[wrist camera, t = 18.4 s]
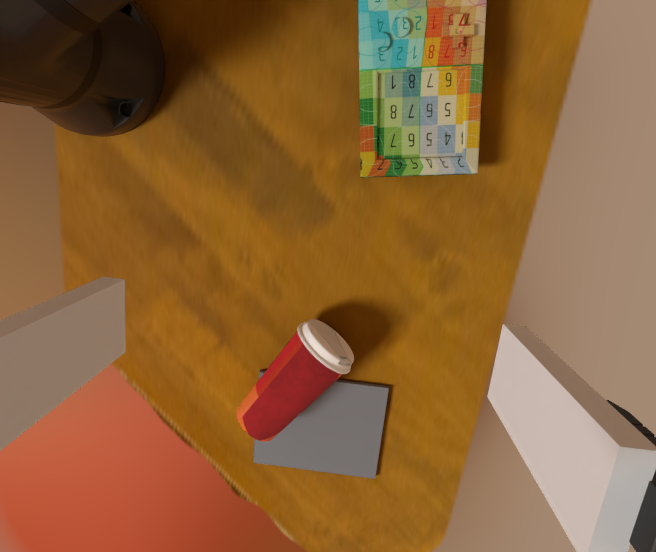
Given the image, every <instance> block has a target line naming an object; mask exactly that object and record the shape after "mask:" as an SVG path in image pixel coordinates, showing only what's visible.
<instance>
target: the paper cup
mask: <svg viewBox="0 0 656 552" xmlns="http://www.w3.org/2000/svg"><path fill="white" fill-rule="evenodd" d="M353 362H354V355H353V352H352V350H351V348H350V347H349V345H348V344H347V343H346V341H345V340H344V339H343V338H342V337H341V336H340V335H339V334H338V333H337V332H336V331H335V330H333V329H332V328H331V327H329V326H328V325H327V324H325V323H323V322H321V321H319V320H316V319H311V320H308V321H307V322H302V323H301V324H299V325H298V328H297V332H296V333H295V335H294V336H293V337H292V339H291V340H290V341H289V342H288V344H287V345H286V346H285V347H284V349H283V350H282V351H281V352H280V354H279V355H278V356H277V358H276V359H275V360H274V361H273V363H272V364H271V365H270V366H269V368H268V369H267V370H266V371H265V373H264V374H263V375H262V377H261V378H260V379H259V380H258V382H257V383H256V384H255V385H254V387H253V388H252V389H251V391H250V392H249V393H248V394H247V396H246V397H245V398H244V400H243V401H242V402H241V404H240V405H239V407H238V409H237V418H238V421H239V423H240V425H241V426H242V428H243V429H244V430H245V431H246V433H248V434H249V435H250V436H251V437H253V438H254V439H256V440H259V441H262V442H267V441H270V440H272V439H273V438H274V437H275V436H277V435H278V434H279V433H280V432H281V431H282V430H283V429H284V428H285V427H287V426H288V425H289V424H290V423H291V422H292V421H293V420H294V419H295V418H296V417H297V416H299V415H300V414H301V413H302V412H303V411H304V410H305V409H306V408H307V407H308V406H309V405H310V404H311V403H313V402H314V401H315V400H316V399H317V398H318V397H319V396H320V395H321V394H322V393H323V392H324V391H325V390H326V389H328V388H329V387H330V386H331V385H332V384H333V383H334V382H335V381H336V380H337V379H338V378H339V377H340V376H342V375H343V374H347V373H349V372H350V369H351V365H352V363H353Z"/></svg>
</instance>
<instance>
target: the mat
mask: <svg viewBox="0 0 656 552" xmlns="http://www.w3.org/2000/svg"><path fill="white" fill-rule="evenodd" d="M264 373H265V370H260V372H259V379H260V378H261V377H262V375H263V374H264ZM388 391H389V386H385V385H377V384H369V383H361V382H353V381H345V380H336V381H335V382H334V383H333V384H332V385H331V386H330V387H329V388H328V389H326V390H325V391H324V392H323V393H322V394H321V395H320V396H319V397H318V398H317V399H316V400H315V401H314V402H313V403H311V404H310V405H309V406H308V407H307V408H306V409H305V410H304V411H303V412H302V413H301V414H300V415H299V416H297V417H296V418H295V419H294V420H293V421H292V422H291V423H290V424H289V425H288V426H287V427H285V428H284V429H283V430H282V431H281V432H280V433H279V434H278V435H277V436H275V437H274V438H273V439H272V440H270V441H267V442H262V441H259V440H256V439H255V445H254V459H253V463H261V464H268V465H276V466H283V467H291V468H298V469H306V470H313V471H321V472H328V473H336V474H343V475H351V476H358V477H366V478H374V479H375V477H376V470H377V464H378V457H379V451H380V444H381V437H382V431H383V424H384V418H385V411H386V404H387V398H388Z"/></svg>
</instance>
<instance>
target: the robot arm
mask: <svg viewBox="0 0 656 552" xmlns="http://www.w3.org/2000/svg"><path fill="white" fill-rule="evenodd" d="M163 81H164V56H163V50H162V46H161V43H160V40H159V37H158V34H157V32H156V30H155V28H154V26H153V24H152V22H151V21H150V19H149V17H148V16H147V15H146V13H145V12H144V11H143V10H142V8H141V7H140V6H139V5H138V4H137V3H136V2H135V1H134V0H0V102H5V103H11V104H16V105H22V106H29V107H32V108H33V109H35V110H36V111H38V112H39V113H41V114H42V115H44V116H45V117H46V118H48V119H50V120H51V121H52V122H54V123H55V124H57V125H59V126H61V127H63V128H65V129H67V130H70V131H73V132H76V133H80V134H85V135H92V136H102V137H104V136H115V135H119V134H122V133H125V132H127V131H130V130H132V129H133V128H135V127H136V126H138V125H139V124H140V123H142V122H143V121H144V120H145V119H146V118H147V117H148V115H149V114H150V113H151V112H152V110H153V108H154V107H155V105H156V103H157V101H158V99H159V96H160V93H161V90H162V86H163ZM125 352H126V346H125V282H124V279H117V278H109V277H102V278H99V279H97V280H94V281H92V282H90V283H87V284H85V285H83V286H80V287H78V288H76V289H73V290H71V291H68V292H66V293H64V294H61V295H59V296H57V297H54V298H52V299H50V300H47V301H45V302H42V303H40V304H38V305H35V306H33V307H31V308H28V309H26V310H24V311H21V312H19V313H17V314H14V315H12V316H9V317H7V318H5V319H2V320H0V451H1V450H2V449H3V448H5V447H6V446H7V445H8V444H10V443H11V442H12V441H13V440H15V439H16V438H17V437H18V436H20V435H21V434H22V433H23V432H25V431H26V430H27V429H29V428H30V427H31V426H32V425H34V424H35V423H36V422H37V421H39V420H40V419H41V418H42V417H44V416H45V415H46V414H47V413H49V412H50V411H51V410H53V409H54V408H55V407H56V406H58V405H59V404H60V403H61V402H63V401H64V400H65V399H66V398H68V397H69V396H70V395H72V394H73V393H74V392H75V391H77V390H78V389H79V388H81V387H82V386H83V385H84V384H86V383H87V382H88V381H89V380H91V379H92V378H93V377H94V376H96V375H97V374H98V373H100V372H101V371H102V370H103V369H104V368H106V367H107V366H108V365H110V364H111V363H112V362H114V361H115V360H116V359H117V358H119V357H120V356H121V355H122V354H124V353H125ZM488 399H489V400H490V402H491V404H492V406H493V407H494V409H495V411H496V412H497V414H498V416H499V418H500V419H501V421H502V423H503V425H504V426H505V428H506V430H507V431H508V433H509V435H510V437H511V438H512V440H513V442H514V444H515V446H516V447H517V449H518V451H519V452H520V454H521V456H522V458H523V459H524V461H525V463H526V465H527V466H528V468H529V470H530V472H531V473H532V475H533V477H534V478H535V480H536V482H537V484H538V485H539V487H540V489H541V491H542V492H543V494H544V496H545V497H546V499H547V501H548V502H549V504H550V506H551V508H552V510H553V511H554V513H555V515H556V516H557V518H558V520H559V522H560V524H561V525H562V527H563V528H564V531H565V532H566V534H567V536H568V537H569V539H570V541H571V542H572V544H573V546H574V548H575V550H576V551H577V552H628V550H629V547H630V544H631V545H632V546H633V548H634V549H635V550H636V552H656V437H654V434H653V433H651V431H649V430H648V429H647V428H646V427H643V425H642V423H640V422H639V421H638V420H637V419H636V418H635V417H634V416H632V415H631V414H630V413H629V412H628V411H626V410H624V409H623V408H621V407H619V406H617V405H616V404H614V403H612V402H610V401H609V400H605V399H604V398H603V397H602V396H601V395H600V394H598V393H597V392H596V391H595V390H594V389H593V388H592V387H591V386H590V385H589V384H588V383H587V382H586V381H584V380H583V379H582V378H581V377H580V376H579V375H578V374H577V373H576V372H575V371H574V370H573V369H571V368H570V367H569V366H568V365H567V364H566V363H565V362H564V361H563V360H562V359H560V357H558V356H557V355H556V354H555V353H554V352H553V351H552V350H551V349H550V348H549V347H548V346H547V345H546V344H544V343H543V342H542V341H541V340H540V339H539V338H538V337H537V336H536V335H535V334H534V333H532V332H531V331H530V330H529V329H528V328H527V327H526V326H518V325H509V324H503V327H502V332H501V336H500V341H499V346H498V350H497V355H496V359H495V364H494V369H493V374H492V378H491V383H490V387H489V392H488Z"/></svg>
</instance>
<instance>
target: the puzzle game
mask: <svg viewBox="0 0 656 552" xmlns="http://www.w3.org/2000/svg"><path fill="white" fill-rule="evenodd" d="M486 3H487V0H358V22H359V96H360V170H361V178H366V177H397V176H429V175H461V174H478V163H479V143H480V123H481V103H482V83H483V63H484V43H485V23H486Z"/></svg>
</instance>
